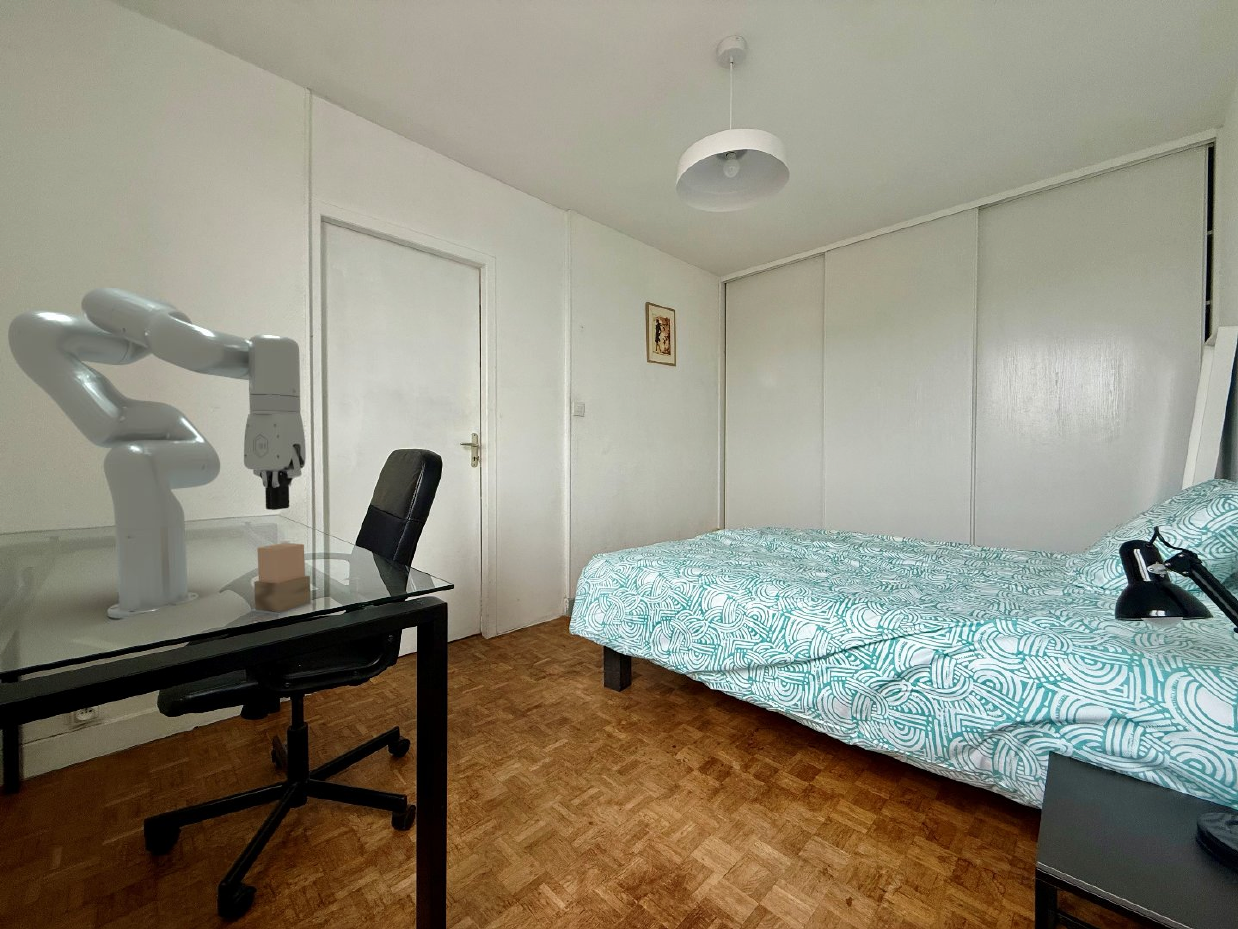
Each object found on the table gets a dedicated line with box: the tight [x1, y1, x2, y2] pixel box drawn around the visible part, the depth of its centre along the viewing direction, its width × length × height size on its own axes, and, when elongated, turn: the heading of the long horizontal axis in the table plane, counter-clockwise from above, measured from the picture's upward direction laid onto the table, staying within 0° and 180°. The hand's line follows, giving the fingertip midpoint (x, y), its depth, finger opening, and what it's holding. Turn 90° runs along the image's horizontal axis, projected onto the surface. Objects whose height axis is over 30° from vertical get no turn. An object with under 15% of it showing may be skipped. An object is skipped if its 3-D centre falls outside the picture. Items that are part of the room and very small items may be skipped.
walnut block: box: [253, 575, 312, 613], centre depth 91 cm, size 6×6×5 cm
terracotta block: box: [257, 542, 306, 584], centre depth 91 cm, size 5×5×6 cm
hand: (277, 508), depth 90 cm, fingers closed
